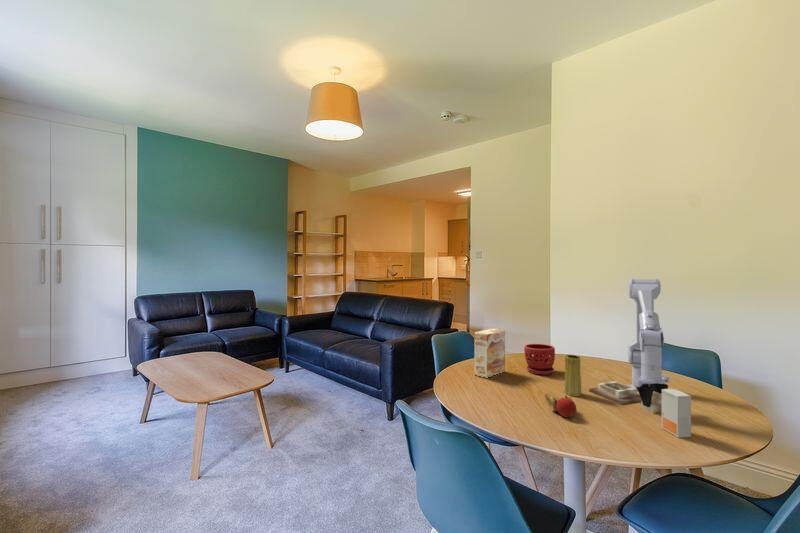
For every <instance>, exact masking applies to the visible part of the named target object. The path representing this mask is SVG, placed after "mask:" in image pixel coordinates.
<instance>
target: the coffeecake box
mask: <svg viewBox="0 0 800 533" xmlns="http://www.w3.org/2000/svg"><path fill="white" fill-rule="evenodd" d="M473 334H474V360H473V362H474V373H473V374H476V375H480V376H483V377H486V378H488V377H491V376H493V375H496V374H498V375H500V374H499V373H501V372H504V371H505V372H506V329H501V328H488V329H483V330H479V331H475V332H474V333H473ZM505 372H504V373H505ZM501 374H502V373H501ZM496 376H497V375H496ZM493 377H494V376H493ZM491 378H492V377H491ZM488 379H489V378H488Z"/></svg>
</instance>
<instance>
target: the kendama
mask: <svg viewBox="0 0 800 533" xmlns="http://www.w3.org/2000/svg"><path fill="white" fill-rule="evenodd" d="M544 397H545V399H546V400H547V403H548V406H549V409H550V410H551V412H557V413H559V415H561V416H562V417H565V418H571V417H573V416H575V414H576V413H577V405H576V403H575V402H574V401H573V399H572V396H570V395H567V394H565V395H564V397H561V398H559V397H558V396H557V395H555V394H554V393H553V392H552V391H550V390H547V391H546V392H545V393H544Z"/></svg>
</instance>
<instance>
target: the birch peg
mask: <svg viewBox="0 0 800 533" xmlns="http://www.w3.org/2000/svg"><path fill="white" fill-rule="evenodd" d="M640 404H641V405H640V406H641V410H643V411H645V410H646V412H648V413H650V412H651V413H650V414H657V413H656V412H658V413H662V394H660V393H657V392H654V391H653V394H652V397H651V405H650V407H646V406H644V405H643V403H642V400H641V401H640Z"/></svg>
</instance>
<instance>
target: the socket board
mask: <svg viewBox="0 0 800 533" xmlns="http://www.w3.org/2000/svg"><path fill="white" fill-rule="evenodd" d="M627 385H628V384H624V383H621V382H619V381H616V380H614V381H608V382H607V381H606V382H601V383H597V387H592V388H588V392H589V393H591V394H592V393H593V394H595V395H598V396H600V397H603V398H605V399H607V400H608V401H609V400H610V401H612V402H614V403H617V404H620V405H627V404H631V403H636V402H638V403H639V402H641V397H640V394H638V390H637V389H636V388H633V387H630V386H627Z"/></svg>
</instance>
